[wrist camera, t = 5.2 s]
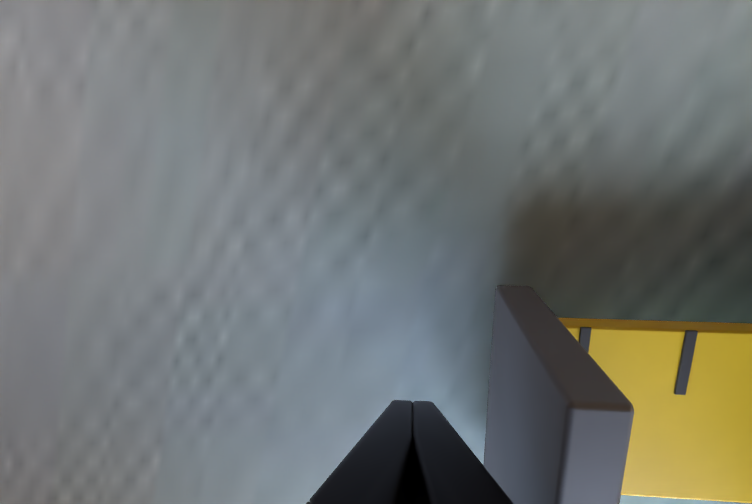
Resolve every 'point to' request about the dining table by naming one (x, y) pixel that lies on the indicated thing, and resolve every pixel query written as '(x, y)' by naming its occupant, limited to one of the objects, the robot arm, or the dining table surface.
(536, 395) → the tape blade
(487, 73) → the dining table surface
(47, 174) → the dining table surface
